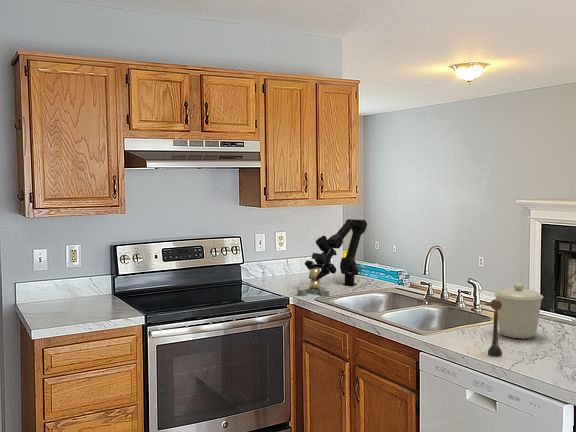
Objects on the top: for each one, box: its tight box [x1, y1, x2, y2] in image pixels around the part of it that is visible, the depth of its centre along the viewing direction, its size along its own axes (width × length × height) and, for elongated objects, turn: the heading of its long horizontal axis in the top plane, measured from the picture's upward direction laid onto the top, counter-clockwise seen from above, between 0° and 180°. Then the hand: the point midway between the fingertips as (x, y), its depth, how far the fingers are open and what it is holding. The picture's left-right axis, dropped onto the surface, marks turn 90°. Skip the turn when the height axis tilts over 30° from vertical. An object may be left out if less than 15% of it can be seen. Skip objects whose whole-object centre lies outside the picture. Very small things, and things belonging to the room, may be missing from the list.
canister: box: [494, 282, 544, 340], centre depth 239 cm, size 18×18×21 cm
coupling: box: [309, 268, 321, 291], centre depth 328 cm, size 5×5×12 cm
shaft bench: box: [296, 283, 330, 297], centre depth 322 cm, size 18×17×5 cm
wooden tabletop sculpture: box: [485, 298, 503, 357], centre depth 214 cm, size 6×5×20 cm
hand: (313, 279), depth 327 cm, fingers closed on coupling, 5 cm apart
